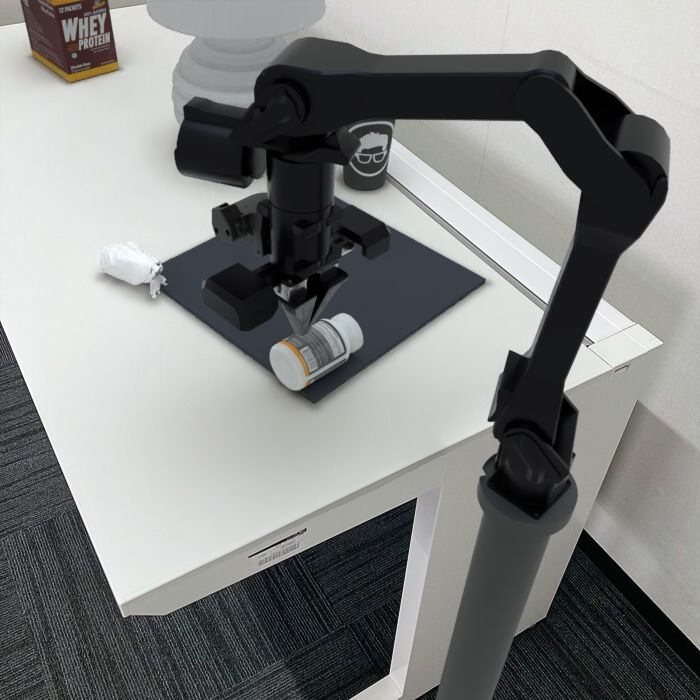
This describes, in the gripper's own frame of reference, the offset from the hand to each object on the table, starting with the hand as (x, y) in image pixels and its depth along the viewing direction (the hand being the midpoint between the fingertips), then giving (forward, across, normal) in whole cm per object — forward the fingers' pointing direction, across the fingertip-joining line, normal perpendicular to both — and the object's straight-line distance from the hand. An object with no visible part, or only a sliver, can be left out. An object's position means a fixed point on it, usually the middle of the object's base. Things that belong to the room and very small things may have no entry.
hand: (300, 332), depth 78 cm
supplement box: (+12, -31, -97) cm, 102 cm away
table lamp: (+12, -33, -49) cm, 60 cm away
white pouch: (+12, -1, -32) cm, 34 cm away
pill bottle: (+9, -1, -4) cm, 10 cm away
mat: (+12, -18, -17) cm, 27 cm away
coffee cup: (+12, -41, -30) cm, 52 cm away
